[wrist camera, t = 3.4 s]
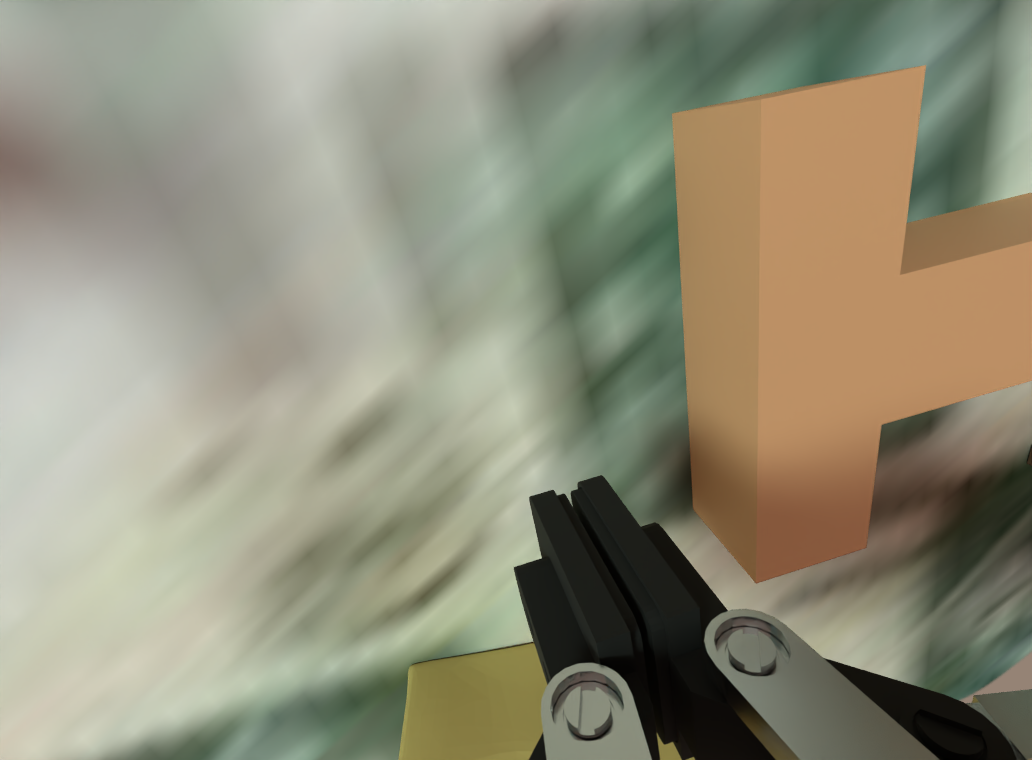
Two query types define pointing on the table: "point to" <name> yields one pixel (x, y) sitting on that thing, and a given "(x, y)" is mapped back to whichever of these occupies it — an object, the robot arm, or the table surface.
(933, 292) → the t block
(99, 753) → the table surface
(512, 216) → the table surface
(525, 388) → the table surface
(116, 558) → the table surface
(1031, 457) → the brown wooden rack
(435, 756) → the cheese
